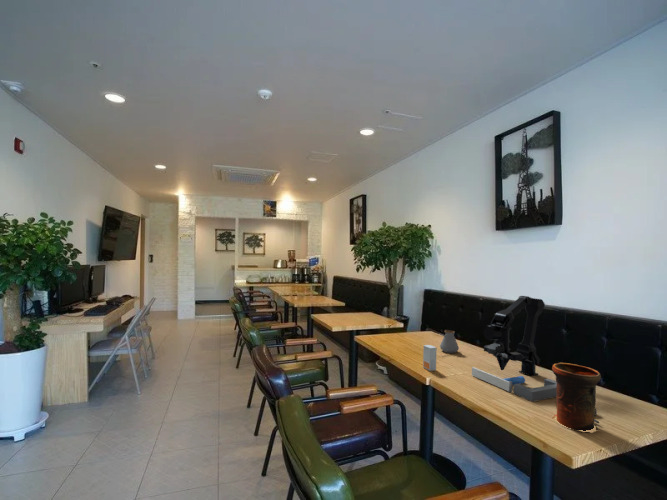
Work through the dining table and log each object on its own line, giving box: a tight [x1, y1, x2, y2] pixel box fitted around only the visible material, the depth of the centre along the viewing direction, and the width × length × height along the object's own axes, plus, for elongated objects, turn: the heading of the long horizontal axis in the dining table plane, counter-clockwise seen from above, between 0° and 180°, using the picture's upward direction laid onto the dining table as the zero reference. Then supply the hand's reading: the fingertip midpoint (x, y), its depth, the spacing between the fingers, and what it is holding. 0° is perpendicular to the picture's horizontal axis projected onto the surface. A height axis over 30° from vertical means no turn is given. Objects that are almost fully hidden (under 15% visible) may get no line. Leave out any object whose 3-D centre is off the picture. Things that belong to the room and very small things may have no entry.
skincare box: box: [422, 344, 437, 372], centre depth 180 cm, size 6×4×12 cm
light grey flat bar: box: [471, 366, 513, 393], centre depth 161 cm, size 23×1×4 cm, turn 22°
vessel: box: [550, 362, 602, 431], centre depth 123 cm, size 14×14×20 cm
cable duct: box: [513, 378, 557, 403], centre depth 150 cm, size 22×9×4 cm, turn 112°
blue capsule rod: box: [503, 375, 526, 386], centre depth 162 cm, size 12×3×3 cm, turn 112°
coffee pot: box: [426, 327, 460, 354], centre depth 216 cm, size 21×12×15 cm, turn 98°
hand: (502, 369), depth 169 cm, fingers closed
